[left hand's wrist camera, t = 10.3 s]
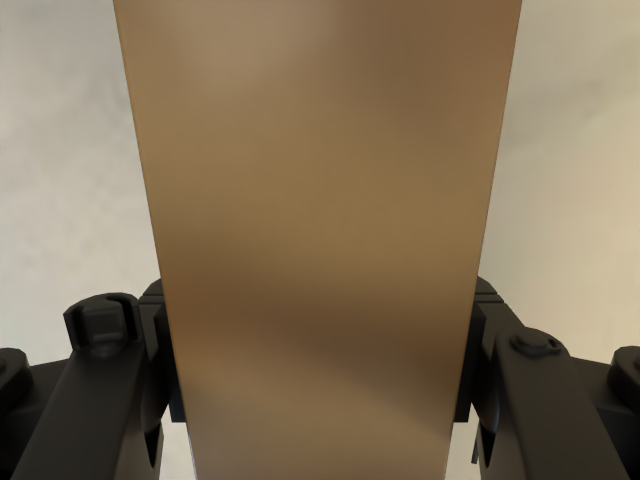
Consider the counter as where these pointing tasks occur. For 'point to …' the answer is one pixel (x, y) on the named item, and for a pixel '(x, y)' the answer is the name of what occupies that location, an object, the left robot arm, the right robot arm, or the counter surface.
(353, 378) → the bar
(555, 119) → the counter surface
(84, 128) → the counter surface
